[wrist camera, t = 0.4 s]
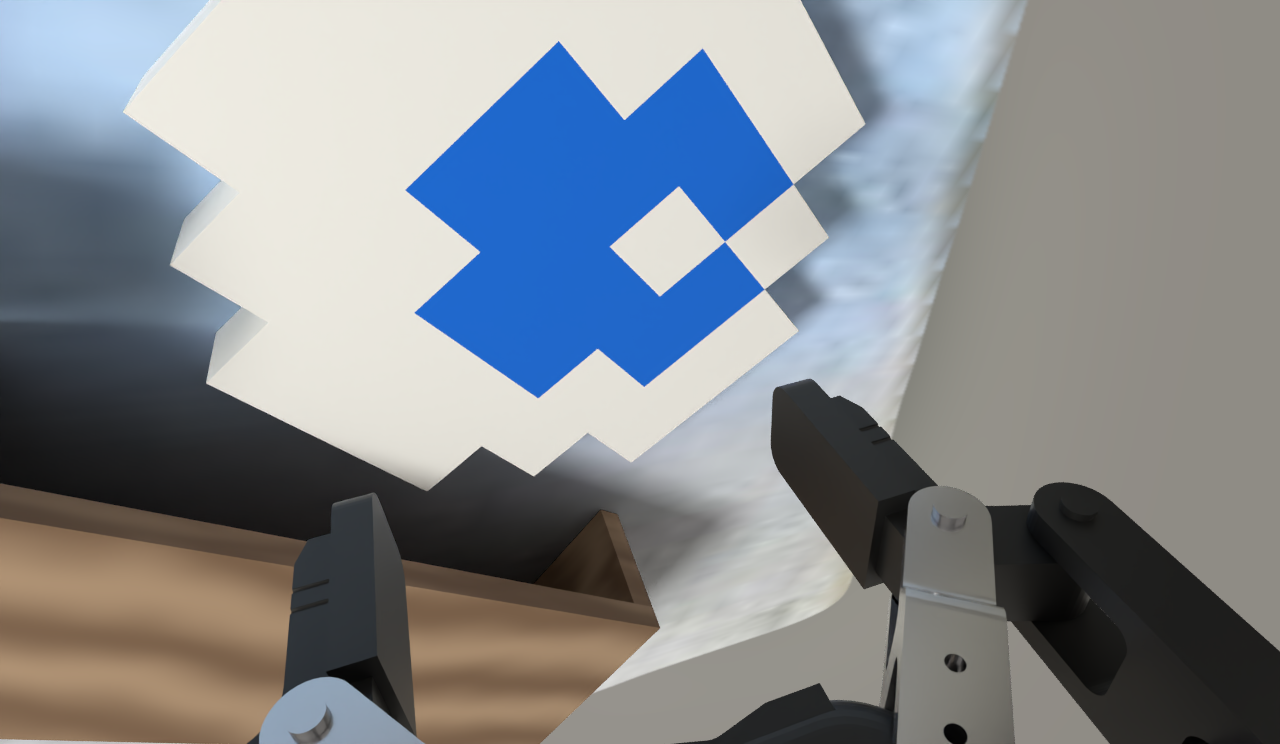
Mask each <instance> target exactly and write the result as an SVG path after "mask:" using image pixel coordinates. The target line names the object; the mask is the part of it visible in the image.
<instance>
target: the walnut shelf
mask: <svg viewBox="0 0 1280 744" xmlns="http://www.w3.org/2000/svg"><path fill="white" fill-rule="evenodd" d="M306 543H307V541H302V540H297V539H291V538H286V537H281V536H276V535H270V534H265V533H260V532H254V531H249V530H244V529H239V528H233V527H228V526H223V525H217V524H212V523H207V522H202V521H196V520H191V519H186V518H180V517H175V516H170V515H165V514H159V513H154V512H149V511H143V510H138V509H133V508H128V507H122V506H117V505H112V504H106V503H101V502H96V501H91V500H85V499H80V498H75V497H69V496H64V495H59V494H54V493H48V492H43V491H38V490H33V489H27V488H22V487H17V486H11V485H6V484H1V483H0V739H21V740H64V741H107V742H149V743H192V744H247V743H248V742H249V741H251V740H252V739H253V738H254V737H255V736H256V735H257V734H258V733H259V732H260V731H261V727H262V724H263V722H264V720H265V718H266V716H267V715H268V713H269V711H270V710H271V709H272V707H273V706H274V705H275V703H276V702H277V701H278V700H279V699H280V698H281V697H282V693H283V688H284V676H285V665H286V653H287V642H288V630H289V618H290V614H291V610H290V607H291V595H292V594H293V591H292V583H293V572H294V564H295V562H296V560H297V559H298V557H299V555H300V553H301V551H302V550H303V548H304V546H305V544H306ZM401 561H402V565H403V570H404V576H405V586H406V600H407V613H408V627H409V640H410V654H411V667H412V680H413V694H414V707H415V721H416V734H417V738H418V739H419V740H421V741H422V742H423V743H425V744H540V743H541V742H542V741H543V740H544V739H545V738H546V737H547V736H548V735H549V734H550V733H551V732H552V731H553V730H555V728H557V727H558V726H559V725H560V724H561V723H562V722H563V721H564V720H565V719H566V718H567V717H568V716H569V715H570V714H571V713H572V712H573V711H574V710H575V709H576V708H577V707H578V706H580V705H581V704H582V703H583V702H584V701H585V700H586V699H587V698H588V697H589V696H590V695H591V694H592V693H593V692H594V691H595V690H596V689H597V688H598V687H599V686H600V685H601V684H602V683H603V682H604V681H606V680H607V679H608V678H609V677H610V676H611V675H612V674H613V673H614V672H615V671H616V670H617V669H618V668H619V667H620V666H621V665H622V664H623V663H624V662H625V661H626V660H627V659H628V658H629V657H631V656H632V655H633V654H634V653H635V652H636V651H637V650H638V649H639V648H640V647H641V646H642V645H643V644H644V643H645V642H646V641H647V640H648V639H649V638H650V637H651V636H652V635H653V634H654V633H655V632H657V631H658V630H659V629H660V626H659V624H658V621H657V618H656V616H655V613H654V610H653V608H652V605H651V602H650V600H649V597H648V594H647V592H646V589H645V586H644V584H643V581H642V578H641V576H640V573H639V570H638V568H637V565H636V562H635V560H634V557H633V554H632V552H631V549H630V546H629V544H628V541H627V539H626V536H625V533H624V531H623V528H622V525H621V523H620V520H619V517H618V515H617V514H614V513H611V512H607V511H604V510H600V511H599V512H598V513H597V514H596V516H595V517H594V518H593V519H592V520H591V521H590V522H589V523H588V524H587V525H586V527H585V528H584V529H583V530H582V531H581V532H580V533H579V534H578V535H577V537H576V538H575V539H574V540H573V541H572V542H571V543H570V544H569V545H568V546H567V548H566V549H565V550H564V551H563V552H562V553H561V554H560V555H559V556H558V558H557V559H556V560H555V561H554V562H553V563H552V564H551V565H550V566H549V568H548V569H547V570H546V571H545V572H544V573H543V574H542V575H541V576H540V577H539V579H538V580H537V581H536V582H535V583H534V584H529V583H524V582H519V581H513V580H508V579H503V578H497V577H492V576H487V575H482V574H476V573H471V572H466V571H460V570H455V569H450V568H445V567H439V566H434V565H429V564H423V563H418V562H413V561H408V560H402V559H401Z"/></svg>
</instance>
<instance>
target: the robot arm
mask: <svg viewBox="0 0 1280 744" xmlns="http://www.w3.org/2000/svg"><path fill="white" fill-rule="evenodd" d="M771 450H772V455H773V459H774V462H775V464H776V466H777V469H778V470H779V472H780V474H781V475H782V476H783V478H784V479H785V481H786V482H787V483H788V485H789V486H790V487H791V489H792V490H793V492H794V493H795V494H796V496H797V497H798V499H799V500H800V501H801V503H802V504H803V505H804V507H805V508H806V510H807V511H808V512H809V514H810V515H811V517H812V518H813V519H814V521H815V522H816V523H817V525H818V526H819V528H820V529H821V530H822V532H823V533H824V535H825V536H826V537H827V539H828V540H829V542H830V543H831V544H832V546H833V547H834V548H835V550H836V551H837V553H838V554H839V555H840V557H841V558H842V560H843V561H844V562H845V564H846V565H847V566H848V568H849V569H850V571H851V572H852V573H853V575H854V576H855V577H856V579H857V580H858V582H859V583H860V584H861V586H862V587H863V589H866V588H869V587H872V586H875V585H878V584H881V583H884V584H885V585H886V586H887V588H888V589H889V590H890V591H891V595H890V600H889V610H888V621H887V634H886V646H885V657H884V670H883V682H882V690H881V697H880V703H879V707H878V706H874V705H871V704H867V703H862V702H856V701H844V700H829V699H828V697H827V695H826V693H825V692H824V690H823V688H822V686H821V685H820V683H819V684H816V685H813V686H811V687H808V688H805V689H802V690H799V691H797V692H794V693H791V694H788V695H786V696H783V697H781V698H778V699H775V700H772V701H769V702H767V703H765V704H763V705H762V706H761V707H759V708H758V709H757V710H755V711H754V712H752V713H751V714H749V715H748V716H747V717H745V718H744V719H743V720H741V721H740V722H738V723H737V724H736V725H734V726H733V727H732V728H730V729H729V730H727V731H726V732H725V733H723V734H722V735H720V736H719V737H717V738H715V739H713V740H708V741H698V742H687V743H677V744H1015V735H1014V720H1013V705H1012V692H1011V691H1012V690H1011V675H1010V661H1009V645H1008V630H1007V621H1011V622H1012V623H1013V624H1014V626H1015V627H1016V628H1017V629H1018V630H1019V632H1020V633H1021V634H1022V635H1023V637H1024V638H1025V639H1026V640H1027V642H1028V643H1029V644H1030V645H1031V647H1032V648H1033V649H1034V650H1035V651H1036V653H1037V654H1038V655H1039V657H1040V658H1041V659H1042V660H1043V661H1044V663H1045V664H1046V665H1047V666H1048V668H1049V669H1050V670H1051V671H1052V673H1053V674H1054V675H1055V676H1056V678H1057V679H1058V680H1059V681H1060V683H1061V684H1062V685H1063V686H1064V688H1065V689H1066V690H1067V691H1068V692H1069V694H1070V695H1071V696H1072V697H1073V699H1074V700H1075V701H1076V702H1077V704H1078V705H1079V706H1080V707H1081V708H1082V710H1083V711H1084V712H1085V713H1086V715H1087V716H1088V717H1089V719H1090V720H1091V721H1092V722H1093V723H1094V725H1095V726H1096V727H1097V728H1098V730H1099V731H1100V732H1101V733H1102V734H1103V736H1104V737H1105V738H1106V739H1107V741H1108V742H1109V743H1110V744H1280V651H1279V650H1277V649H1276V648H1275V647H1274V646H1273V645H1272V644H1271V643H1270V642H1269V641H1267V640H1266V639H1265V638H1264V637H1263V636H1262V635H1261V634H1260V633H1258V632H1257V631H1256V630H1255V629H1254V628H1253V627H1252V626H1251V625H1249V624H1248V623H1247V622H1246V621H1245V620H1244V619H1243V618H1242V617H1240V616H1239V615H1238V614H1237V613H1236V612H1235V611H1234V610H1233V609H1231V608H1230V607H1229V606H1228V605H1227V604H1226V603H1225V602H1224V601H1223V600H1221V599H1220V598H1219V597H1218V596H1217V595H1216V594H1215V593H1214V592H1212V591H1211V590H1210V589H1209V588H1208V587H1207V586H1206V585H1205V584H1204V583H1202V582H1201V581H1200V580H1199V579H1198V578H1197V577H1196V576H1195V575H1193V574H1192V573H1191V572H1190V571H1189V570H1188V569H1187V568H1185V567H1184V566H1183V565H1182V564H1181V563H1180V562H1179V561H1178V560H1177V559H1175V558H1174V557H1173V556H1172V555H1171V554H1170V553H1169V552H1168V551H1167V550H1165V549H1164V548H1163V547H1162V546H1161V545H1160V544H1159V543H1158V542H1156V541H1155V540H1154V539H1153V538H1152V537H1151V536H1150V535H1149V534H1147V533H1146V532H1145V531H1144V530H1143V529H1142V528H1141V527H1140V526H1138V525H1137V524H1136V523H1135V522H1134V521H1133V520H1132V519H1130V518H1129V517H1128V516H1127V515H1126V514H1125V513H1124V512H1123V511H1122V510H1120V509H1119V508H1118V507H1117V506H1116V505H1115V504H1114V503H1113V502H1112V501H1110V500H1109V499H1108V498H1107V497H1105V496H1104V495H1102V494H1101V493H1099V492H1097V491H1095V490H1093V489H1090V488H1088V487H1085V486H1082V485H1078V484H1073V483H1064V482H1061V483H1060V482H1059V483H1052V484H1048V485H1045V486H1043V487H1041V488H1040V489H1039V490H1038V491H1037V492H1036V494H1035V495H1034V498H1033V502H1032V504H1031V505H1018V506H985V505H984V504H983V503H982V502H981V501H980V500H978V499H977V498H976V497H974V496H973V495H971V494H969V493H967V492H965V491H962V490H960V489H957V488H953V487H947V486H938V485H937V484H936V483H935V482H934V481H933V480H932V479H931V478H930V477H929V476H928V475H927V474H926V473H925V472H924V471H923V470H922V469H921V468H920V467H919V466H918V464H917V463H916V462H915V461H914V460H913V459H911V457H910V456H909V455H908V454H907V453H906V452H905V451H904V450H903V449H902V448H901V447H900V446H899V445H898V444H897V443H896V442H895V441H894V440H891V438H890V436H889V435H888V433H887V432H886V431H885V430H884V429H883V428H882V427H879V426H878V423H877V422H876V421H875V420H874V419H873V418H872V417H871V416H870V415H869V414H868V413H867V412H866V411H865V410H864V409H863V408H862V407H860V406H859V405H857V404H855V403H853V402H851V401H849V400H847V399H845V398H843V397H841V396H837V397H833V398H830V397H829V396H828V395H827V394H826V393H825V392H824V391H823V390H822V389H821V387H820V386H819V385H818V384H817V383H816V382H815V381H814V380H812V379H806V380H802V381H798V382H795V383H791V384H787V385H783V386H780V387H777V388H775V390H774V392H773V402H772V426H771ZM292 591H293V594H292V595H291V607H290V610H291V614H290V618H289V630H288V642H287V653H286V665H285V676H284V688H283V693H282V697H281V698H280V699H279V700H278V701H277V702H276V703H275V705H274V706H273V707H272V709H271V710H270V711H269V713H268V715H267V716H266V718H265V720H264V722H263V724H262V727H261V731H260V732H259V733H258V734H257V735H256V736H255V737H254V738H253V739H252V740H251V741H249V742H248V743H247V744H425V743H423V742H422V741H421V740H419V739H418V738H417V734H416V721H415V707H414V694H413V680H412V667H411V654H410V640H409V627H408V613H407V600H406V586H405V576H404V570H403V565H402V561H401V557H400V553H399V550H398V547H397V545H396V542H395V539H394V537H393V534H392V532H391V529H390V527H389V524H388V522H387V519H386V516H385V514H384V511H383V509H382V506H381V504H380V501H379V499H378V497H377V495H376V494H375V493H370V494H367V495H363V496H359V497H355V498H351V499H348V500H344V501H340V502H336V503H333V505H332V509H331V533H330V534H327V535H323V536H319V537H316V538H312V539H308V541H307V543H306V544H305V546H304V548H303V550H302V551H301V553H300V555H299V557H298V559H297V560H296V562H295V564H294V572H293V583H292ZM1101 609H1102V610H1103V611H1104V612H1103V611H1102V610H1101Z"/></svg>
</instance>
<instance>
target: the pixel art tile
mask: <svg viewBox="0 0 1280 744" xmlns="http://www.w3.org/2000/svg"><path fill="white" fill-rule="evenodd" d="M123 113H125V114H126V115H128V116H129V117H131V118H132V119H134V120H135V121H137V122H138V123H139V124H141V125H142V126H144V127H145V128H147V129H148V130H150V131H151V132H153V133H154V134H155V135H157V136H158V137H160V138H161V139H163V140H164V141H166V142H167V143H168V144H170V145H171V146H173V147H174V148H176V149H177V150H179V151H180V152H182V153H183V154H184V155H186V156H187V157H189V158H190V159H192V160H193V161H195V162H196V163H197V164H199V165H200V166H202V167H203V168H205V169H206V170H208V171H209V172H211V173H212V174H213V175H215V176H216V177H218V178H219V179H221V181H220V182H219V183H218V184H217V185H216V186H215V187H214V188H213V189H212V190H211V191H210V192H209V193H208V194H207V196H206V197H205V198H204V199H203V200H202V201H201V202H200V203H199V204H198V205H197V206H196V207H195V208H194V209H193V210H192V211H191V212H190V213H189V215H188V216H187V217H186V218H185V219H184V221H183V224H182V227H181V231H180V234H179V237H178V240H177V244H176V247H175V250H174V253H173V256H172V260H171V263H170V266H172V267H174V268H175V269H177V270H179V271H181V272H182V273H184V274H186V275H188V276H189V277H191V278H193V279H194V280H196V281H198V282H200V283H201V284H203V285H205V286H207V287H208V288H210V289H212V290H213V291H215V292H217V293H219V294H220V295H222V296H224V297H225V298H227V299H229V300H231V301H232V302H234V303H236V304H238V305H239V306H241V308H240V309H239V310H238V311H237V312H236V313H235V314H234V315H233V316H232V317H231V318H230V319H229V320H228V321H227V322H226V323H225V324H224V325H223V326H222V327H221V328H220V329H219V330H218V331H217V332H216V335H215V340H214V345H213V350H212V355H211V360H210V365H209V370H208V376H207V381H206V384H208V385H210V386H212V387H215V388H217V389H219V390H221V391H223V392H225V393H227V394H229V395H231V396H233V397H235V398H237V399H239V400H241V401H243V402H245V403H247V404H249V405H251V406H253V407H255V408H257V409H259V410H262V411H264V412H266V413H268V414H270V415H272V416H274V417H276V418H278V419H280V420H282V421H284V422H286V423H288V424H290V425H292V426H294V427H296V428H298V429H300V430H302V431H304V432H306V433H308V434H311V435H313V436H315V437H317V438H319V439H321V440H323V441H325V442H327V443H329V444H331V445H333V446H335V447H337V448H339V449H341V450H343V451H345V452H347V453H349V454H351V455H353V456H355V457H358V458H360V459H362V460H364V461H366V462H368V463H370V464H372V465H374V466H376V467H378V468H380V469H382V470H384V471H386V472H388V473H390V474H392V475H394V476H396V477H398V478H400V479H402V480H404V481H407V482H409V483H411V484H413V485H415V486H417V487H419V488H421V489H423V490H425V491H429V490H430V489H431V488H432V487H433V486H435V485H436V484H437V483H438V482H439V481H441V480H442V479H443V478H444V477H445V476H447V475H448V474H449V473H450V472H451V471H452V470H454V469H455V468H456V467H457V466H458V465H460V464H461V463H462V462H463V461H464V460H466V459H467V458H468V457H469V456H470V455H472V454H473V453H474V452H475V451H476V450H478V449H479V448H480V447H481V446H482V447H484V448H486V449H487V450H489V451H491V452H493V453H494V454H496V455H498V456H499V457H501V458H503V459H505V460H506V461H508V462H510V463H512V464H513V465H515V466H517V467H518V468H520V469H522V470H524V471H525V472H527V473H529V474H530V475H532V476H535V475H536V474H538V473H539V472H540V471H541V470H542V469H544V468H545V467H546V466H547V465H549V464H550V463H551V462H552V461H554V460H555V459H556V458H557V457H559V456H560V455H561V454H562V453H563V452H565V451H566V450H567V449H568V448H570V447H571V446H572V445H573V444H575V443H576V442H577V441H578V440H580V439H581V438H582V437H583V436H584V435H586V434H587V433H589V434H590V435H592V436H593V437H595V438H596V439H598V440H599V441H601V442H602V443H604V444H605V445H606V446H608V447H609V448H611V449H612V450H614V451H615V452H617V453H618V454H619V455H621V456H622V457H624V458H625V459H627V460H628V461H630V462H633V461H634V460H635V459H636V458H638V457H639V456H640V455H642V454H643V453H644V452H645V451H647V450H648V449H649V448H650V447H652V446H653V445H654V444H656V443H657V442H658V441H659V440H661V439H662V438H663V437H664V436H666V435H667V434H668V433H670V432H671V431H672V430H673V429H675V428H676V427H677V426H678V425H680V424H681V423H682V422H684V421H685V420H686V419H687V418H689V417H690V416H691V415H692V414H694V413H695V412H696V411H698V410H699V409H700V408H701V407H703V406H704V405H705V404H707V403H708V402H709V401H710V400H712V399H713V398H714V397H715V396H717V395H718V394H719V393H721V392H722V391H723V390H724V389H726V388H727V387H728V386H729V385H731V384H732V383H733V382H735V381H736V380H737V379H738V378H740V377H741V376H742V375H743V374H745V373H746V372H747V371H749V370H750V369H751V368H752V367H754V366H755V365H756V364H757V363H759V362H760V361H761V360H763V359H764V358H765V357H766V356H768V355H769V354H770V353H771V352H773V351H774V350H775V349H777V348H778V347H779V346H780V345H782V344H783V343H784V342H785V341H787V340H788V339H789V338H791V337H792V336H793V335H794V334H796V333H797V332H798V331H799V330H798V329H797V328H796V327H795V326H794V324H793V323H792V322H791V321H790V319H789V318H788V317H787V316H786V314H785V313H784V312H783V311H782V309H781V308H780V307H779V306H778V304H777V303H776V302H775V301H774V299H773V298H772V297H771V296H770V294H769V293H768V292H767V291H766V290H765V289H766V288H767V287H769V286H770V285H771V284H772V283H773V282H775V281H776V280H777V279H778V278H780V277H781V276H782V275H783V274H785V273H786V272H787V271H788V270H790V269H791V268H792V267H793V266H794V265H796V264H797V263H798V262H799V261H801V260H802V259H803V258H804V257H806V256H807V255H808V254H809V253H811V252H812V251H813V250H814V249H815V248H817V247H818V246H819V245H820V244H822V243H823V242H824V241H825V240H827V239H828V238H829V237H828V235H827V234H826V232H825V231H824V229H823V228H822V226H821V225H820V223H819V222H818V220H817V219H816V217H815V216H814V214H813V213H812V211H811V210H810V208H809V207H808V205H807V204H806V202H805V201H804V199H803V198H802V196H801V195H800V193H799V192H798V190H797V189H796V187H795V186H794V184H795V183H796V182H797V181H798V180H800V179H801V178H802V177H803V176H804V175H806V174H807V173H808V172H809V171H810V170H811V169H813V168H814V167H815V166H816V165H817V164H819V163H820V162H821V161H822V160H823V159H825V158H826V157H827V156H828V155H829V154H831V153H832V152H833V151H834V150H835V149H837V148H838V147H839V146H840V145H841V144H842V143H844V142H845V141H846V140H847V139H848V138H850V137H851V136H852V135H853V134H854V133H856V132H857V131H858V130H859V129H860V128H862V127H863V126H864V125H865V122H864V120H863V118H862V116H861V114H860V112H859V111H858V109H857V107H856V105H855V103H854V101H853V99H852V97H851V95H850V93H849V91H848V90H847V88H846V86H845V84H844V82H843V80H842V78H841V76H840V74H839V72H838V70H837V69H836V67H835V65H834V63H833V61H832V59H831V57H830V55H829V53H828V51H827V50H826V48H825V46H824V44H823V42H822V40H821V38H820V36H819V34H818V32H817V30H816V29H815V27H814V25H813V23H812V21H811V19H810V17H809V15H808V13H807V11H806V9H805V8H804V6H803V4H802V2H801V0H209V2H208V3H207V4H206V5H205V6H204V7H203V8H202V10H201V11H200V12H199V13H198V14H197V15H196V16H195V18H194V19H193V20H192V21H191V22H190V23H189V24H188V26H187V27H186V28H185V29H184V30H183V31H182V32H181V34H180V35H179V36H178V37H177V38H176V39H175V40H174V41H173V43H172V44H171V45H170V46H169V47H168V48H167V49H166V51H165V52H164V53H163V54H162V55H161V56H160V57H159V59H158V60H157V61H156V62H155V63H154V64H153V65H152V67H151V68H150V69H149V70H148V71H147V72H146V73H145V75H144V76H143V78H142V79H141V81H140V83H139V85H138V86H137V88H136V90H135V92H134V93H133V95H132V97H131V99H130V100H129V102H128V104H127V106H126V107H125V109H124V111H123Z"/></svg>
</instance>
